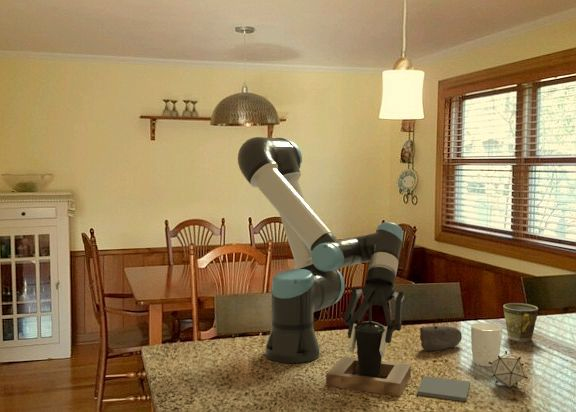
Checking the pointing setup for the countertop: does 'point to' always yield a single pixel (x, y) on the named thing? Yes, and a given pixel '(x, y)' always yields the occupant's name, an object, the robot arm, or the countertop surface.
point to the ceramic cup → (520, 321)
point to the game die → (508, 370)
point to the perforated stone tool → (439, 337)
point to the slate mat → (444, 388)
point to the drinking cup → (369, 346)
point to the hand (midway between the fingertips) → (366, 351)
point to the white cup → (485, 343)
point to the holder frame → (391, 385)
